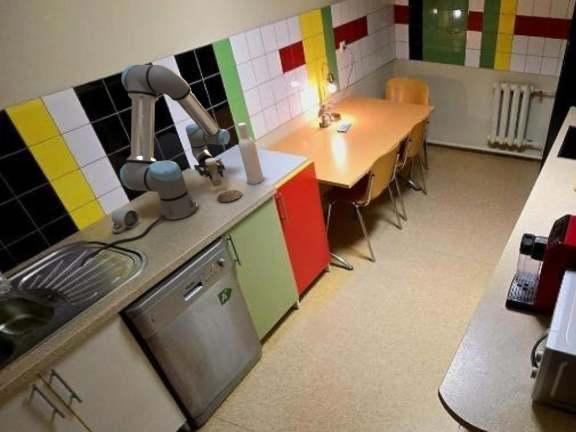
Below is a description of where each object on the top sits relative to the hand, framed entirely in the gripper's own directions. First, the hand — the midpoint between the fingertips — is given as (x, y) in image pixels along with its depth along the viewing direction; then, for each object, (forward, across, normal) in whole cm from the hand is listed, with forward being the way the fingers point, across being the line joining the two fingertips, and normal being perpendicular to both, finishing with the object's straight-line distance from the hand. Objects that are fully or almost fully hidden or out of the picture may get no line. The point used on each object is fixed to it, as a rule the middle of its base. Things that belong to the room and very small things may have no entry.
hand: (216, 175), depth 197 cm
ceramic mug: (+3, +42, -10) cm, 43 cm away
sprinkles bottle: (-5, 0, -7) cm, 9 cm away
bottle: (-4, -18, -10) cm, 21 cm away
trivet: (+5, -2, -10) cm, 12 cm away
